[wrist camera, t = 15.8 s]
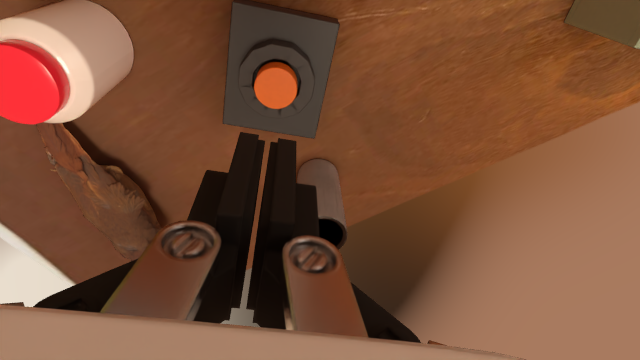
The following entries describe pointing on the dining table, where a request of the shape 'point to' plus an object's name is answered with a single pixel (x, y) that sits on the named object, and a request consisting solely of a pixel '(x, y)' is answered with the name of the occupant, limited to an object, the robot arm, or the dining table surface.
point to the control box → (277, 46)
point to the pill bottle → (60, 61)
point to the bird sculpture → (102, 193)
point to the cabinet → (608, 19)
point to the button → (276, 85)
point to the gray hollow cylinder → (326, 199)
